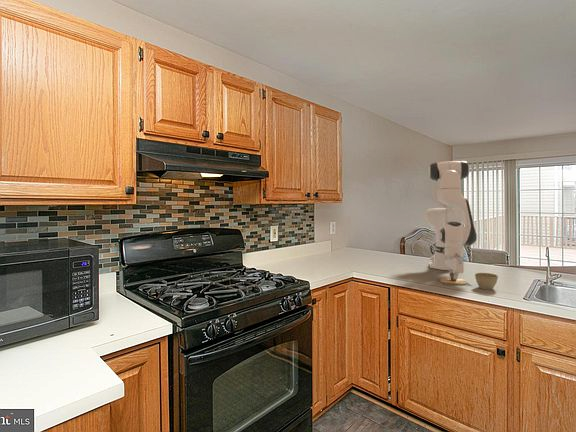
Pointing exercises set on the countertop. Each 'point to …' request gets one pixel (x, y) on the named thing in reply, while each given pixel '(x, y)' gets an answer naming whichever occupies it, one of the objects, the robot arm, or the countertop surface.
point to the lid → (453, 281)
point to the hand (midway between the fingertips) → (453, 277)
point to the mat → (456, 285)
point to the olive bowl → (486, 280)
